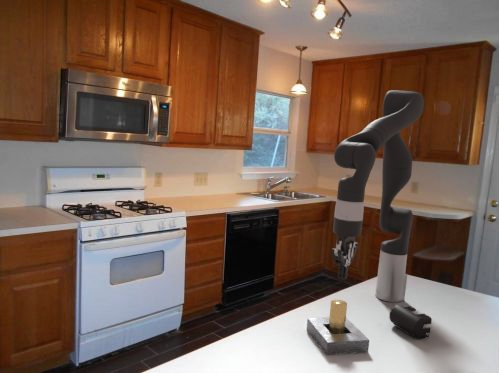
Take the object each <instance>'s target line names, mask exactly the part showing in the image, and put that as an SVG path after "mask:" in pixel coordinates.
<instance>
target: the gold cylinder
mask: <svg viewBox="0 0 499 373" xmlns="http://www.w3.org/2000/svg"><path fill="white" fill-rule="evenodd" d="M347 309H348V303H347V302H346V301H345V300H341V299H331V300H330V308H329V328H328V331H329V332H330V333H331V334H344V331H345V321H346V318H347Z"/></svg>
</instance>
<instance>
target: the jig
mask: <svg viewBox="0 0 499 373" xmlns="http://www.w3.org/2000/svg"><path fill="white" fill-rule="evenodd" d="M329 317H330V316H329ZM329 317H328V316H327V317H326V316H324V317H307V320H306V321H307V323H306V331H307V332H308V333H309V335H310V336H311V337H312V338H313V340H314V341H315V342H316V344H317V345H318V346H319V347H320V349H321V350H322V351H323V353H324V354H325V355H326V356H332V355H333V356H334V355H347V354H348V355H350V354H363V353H369V347H370V346H369V345H370V339H369V338H368V337H367V336H366V335H365V334H364V333H363V332H362V331H361V330H360V329H359V328H358V327H356V325H354V323H353V322H352V321H350V319H349V318H347V317H346V321H345V331H344V334H331V333H330V332H329V331H328V328H329Z"/></svg>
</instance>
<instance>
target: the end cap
mask: <svg viewBox="0 0 499 373" xmlns="http://www.w3.org/2000/svg"><path fill="white" fill-rule="evenodd" d="M416 311H417V309H416V308H415V307H413V306H410V305H408V306H402V305H400V304H395V305H394V306H393V307H392V308H391V309H390V312H389V315H388V316H389V317H388V318H389V322H390V321H391V323H392V324H393V325H394V326H396V327H397V328H399V329H400V330H402V331H404V332H406V333H407V334H409V335H410V336H412V338H415V339H416V340H422V339H429V334H430V333H431V327H425V326H426V325H431V324H432V317H431V316H429V315H427V314H426V313H415V312H416Z"/></svg>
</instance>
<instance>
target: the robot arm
mask: <svg viewBox="0 0 499 373" xmlns="http://www.w3.org/2000/svg"><path fill="white" fill-rule="evenodd" d="M424 106H425V100H424V96H423V94H421V93H420V92H418V91H417V92H416V91H411V90H409V91H408V90H398V89H397V90H394V89H393V90H392V89H391V90H388V91H387V92H386V93H385V96H384V98H383V104H382V117H378V119H375V120H373V121H372V122H370V123H369V124H367V125H366V127H364V128H363V129H362V131H360V132H358V133H356V134H354V135H351V136H350V137H347V138H345V139H344V140H342V141H341V142H340V143H339V144H337V146H336V148H335V150H334V155H333V157H334V159H333V160H334V162H335V164H336V165H337V166H338V167H340V168H343V169H350V170H355V172H354V174H352V176H349V177H348V176H347V177H342V178H340V179H339V182H338V184H337V195H336V201H335V208H334V216H333V223H332V224H333V225H332V226H333V227H332V232H333V233H334V234H335V235H337V239H336V241H335V242H336V244H335V248H331V255H332V259H333V260H334V261H333V262H334V264H335V265H337V279H338V280H342V281H345V280H347V279H348V275H349V274H348V273H349V266H350V265H351V263H353V260H354V258H355V255H356V253H357V250H358V247H359V243H358V242H356V238H357V237H360V236H361V235H362V231H363V221H364V212H365V208H364V207H365V205H364V202H365V193H366V186H367V182H368V181H369V178H370V174H371V172H372V170H373V167H374V165H375V162H376V157H377V156H376V153H377V152H378V151H379V150H381V149H382V147H383V154H382V176H381V177H382V179H381V180H382V181H381V182H382V183H381V186H382V187H381V188H382V192H381V200H380V201H381V202H380V212H379V228H380V230H381V231H382V232H386V233H391V234H396V235H399V236H398V237H396V238H394V239H390V240H389V239H388V240H384V241H382V242H381V244H380V251H379V252H380V253H379V261H378V270H377V278H376V287H375V297H376V298H377V299H379V300H382V301H385V302H390V303H400V302H401V301H405V300H406V299H405V297H406V289H407V282H408V281H407V280H408V274H407V273H406V269H407V268H406V267H407V259H408V253H409V245H410V236H411V231H412V225H413V220H414V219H413V218H414V217H413V211H412V210H411V209H408V208H403V207H395V206H392V205H391V204H392V202H393V200H394V199H395V198H396V196H397V195H398V194H399V192H401V190H403V189H404V187H405V186H406V185H407V184H408V183H409V182H410V179H411V178H412V169H413V157H412V152H410V150H409V147H408V146H407V145H406V143H405V141H404V139H403V137H402V135H401V133H400V132H401V131H403V130H404V129H406V128H408V127H409V126H411V125H412V124H414V123H415V122H417V120H418V119H419V118H420V117H421V116H422V113H423V111H424Z"/></svg>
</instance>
